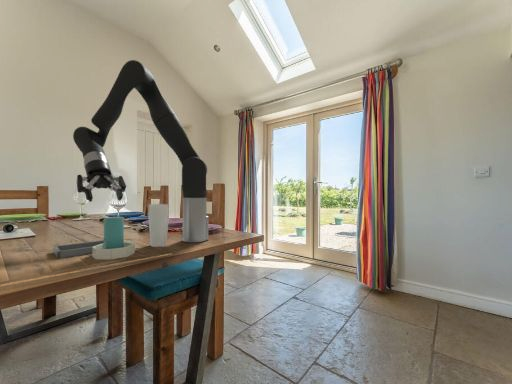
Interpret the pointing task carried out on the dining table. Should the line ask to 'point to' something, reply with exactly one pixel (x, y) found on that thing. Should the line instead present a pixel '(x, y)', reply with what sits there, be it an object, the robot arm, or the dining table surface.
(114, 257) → the cream bowl
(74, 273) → the dining table surface
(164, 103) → the robot arm
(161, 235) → the drinking glass
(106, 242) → the teal cylinder
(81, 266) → the dining table surface
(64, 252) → the parts tray
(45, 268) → the dining table surface
